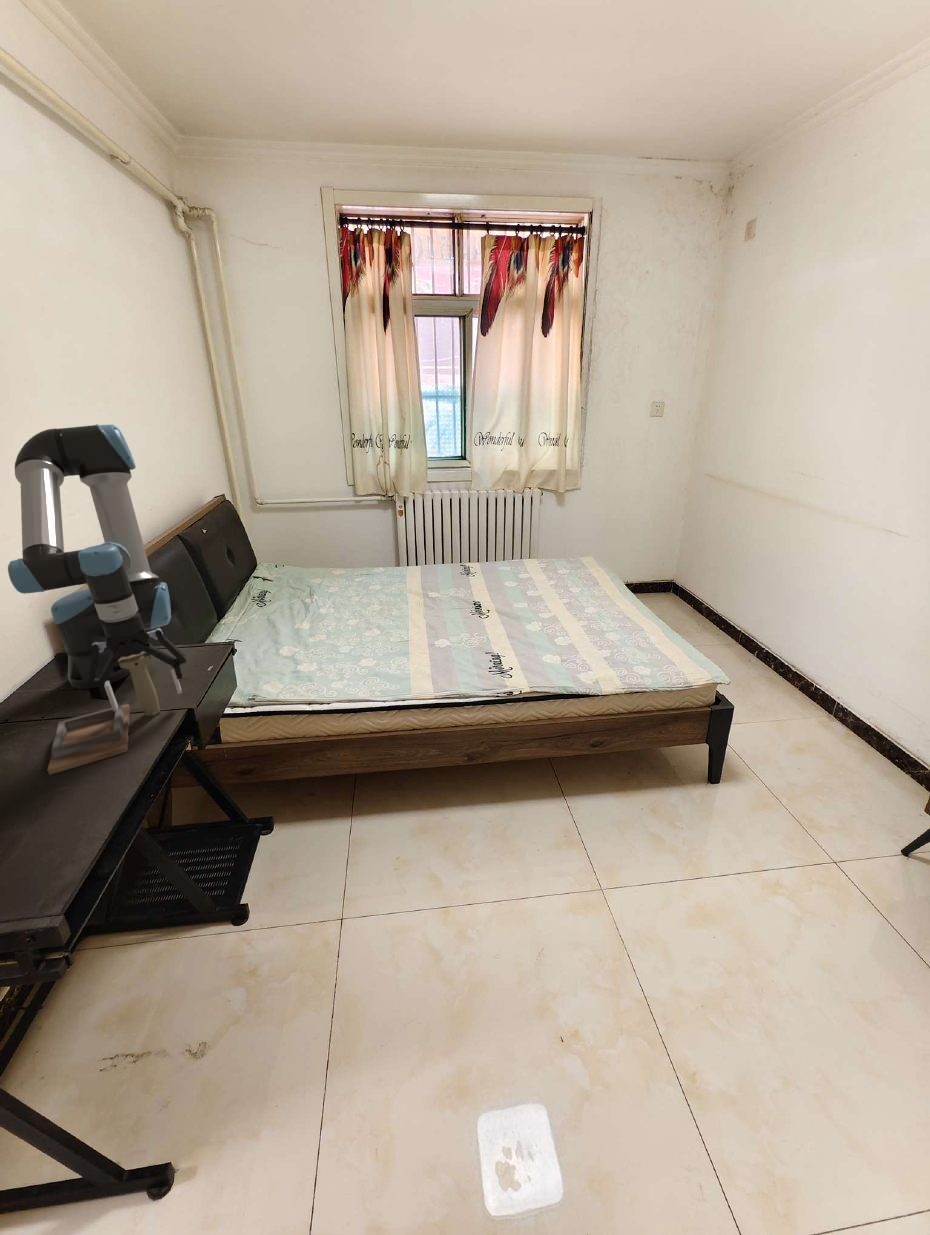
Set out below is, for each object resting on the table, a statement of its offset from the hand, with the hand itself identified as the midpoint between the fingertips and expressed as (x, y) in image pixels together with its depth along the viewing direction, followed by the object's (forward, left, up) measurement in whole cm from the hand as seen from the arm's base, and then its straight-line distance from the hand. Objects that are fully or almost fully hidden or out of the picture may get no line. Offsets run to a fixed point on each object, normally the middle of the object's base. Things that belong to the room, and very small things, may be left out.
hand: (148, 699), depth 130 cm
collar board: (+4, -12, -4) cm, 13 cm away
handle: (0, 0, -4) cm, 4 cm away
